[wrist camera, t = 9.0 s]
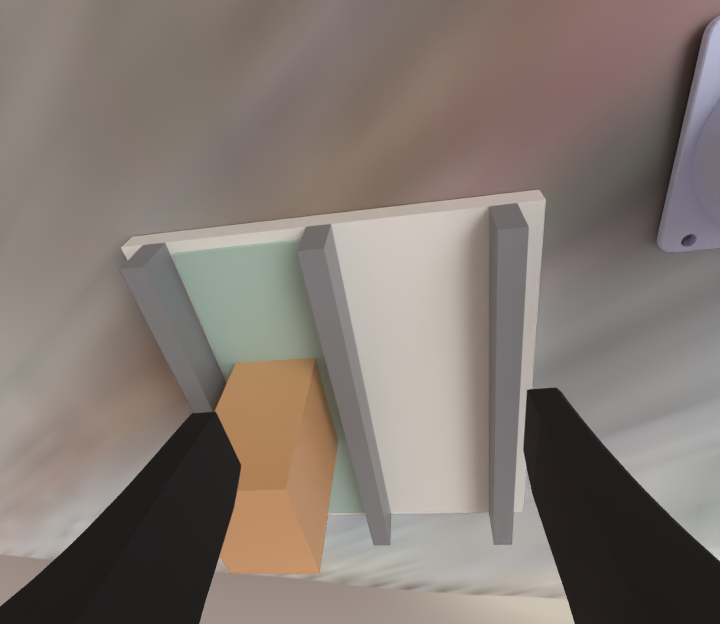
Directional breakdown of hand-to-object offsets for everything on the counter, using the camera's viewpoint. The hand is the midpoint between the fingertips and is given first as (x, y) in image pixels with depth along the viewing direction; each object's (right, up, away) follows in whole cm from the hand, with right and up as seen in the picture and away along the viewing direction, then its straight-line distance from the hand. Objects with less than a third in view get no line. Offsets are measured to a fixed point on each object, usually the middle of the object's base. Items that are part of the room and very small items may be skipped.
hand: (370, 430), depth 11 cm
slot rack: (0, -1, +14) cm, 14 cm away
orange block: (-4, -2, +13) cm, 14 cm away
